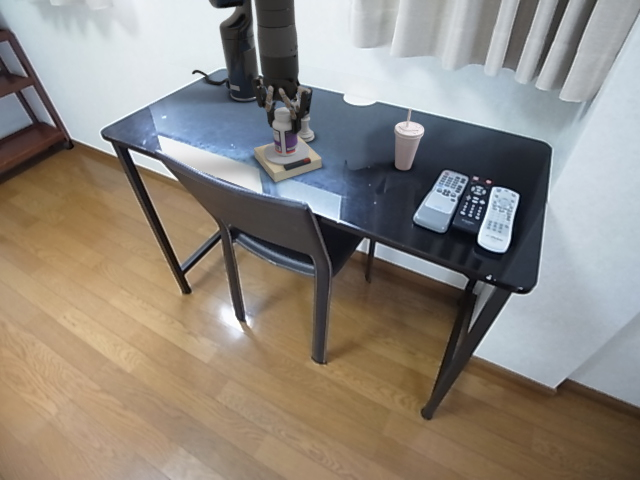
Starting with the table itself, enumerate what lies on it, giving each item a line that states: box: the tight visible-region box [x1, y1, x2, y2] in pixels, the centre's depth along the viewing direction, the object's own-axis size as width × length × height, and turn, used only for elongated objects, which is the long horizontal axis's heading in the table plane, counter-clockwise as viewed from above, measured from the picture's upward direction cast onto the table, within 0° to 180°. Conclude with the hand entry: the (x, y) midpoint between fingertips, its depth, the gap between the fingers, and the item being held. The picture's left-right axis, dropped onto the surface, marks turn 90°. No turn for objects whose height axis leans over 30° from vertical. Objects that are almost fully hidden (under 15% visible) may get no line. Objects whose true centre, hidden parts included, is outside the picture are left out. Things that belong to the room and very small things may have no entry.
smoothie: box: [393, 107, 425, 171], centre depth 83 cm, size 6×6×14 cm
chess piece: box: [297, 113, 315, 143], centre depth 95 cm, size 5×5×8 cm
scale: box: [253, 136, 323, 183], centre depth 88 cm, size 12×12×3 cm
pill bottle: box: [272, 106, 298, 156], centre depth 84 cm, size 5×5×10 cm
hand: (284, 129), depth 83 cm, fingers closed on pill bottle, 5 cm apart
